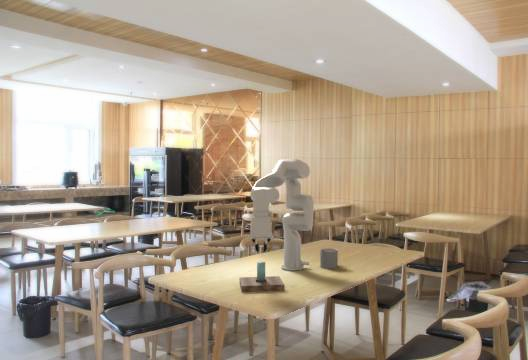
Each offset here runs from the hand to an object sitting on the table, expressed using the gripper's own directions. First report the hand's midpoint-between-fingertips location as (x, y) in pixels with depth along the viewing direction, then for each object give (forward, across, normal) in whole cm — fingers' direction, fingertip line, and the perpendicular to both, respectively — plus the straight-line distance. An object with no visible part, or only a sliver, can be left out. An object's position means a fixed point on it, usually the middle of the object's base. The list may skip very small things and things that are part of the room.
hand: (261, 251), depth 216 cm
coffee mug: (+17, -45, -39) cm, 62 cm away
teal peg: (+17, 0, 0) cm, 17 cm away
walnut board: (+17, 0, 0) cm, 17 cm away
